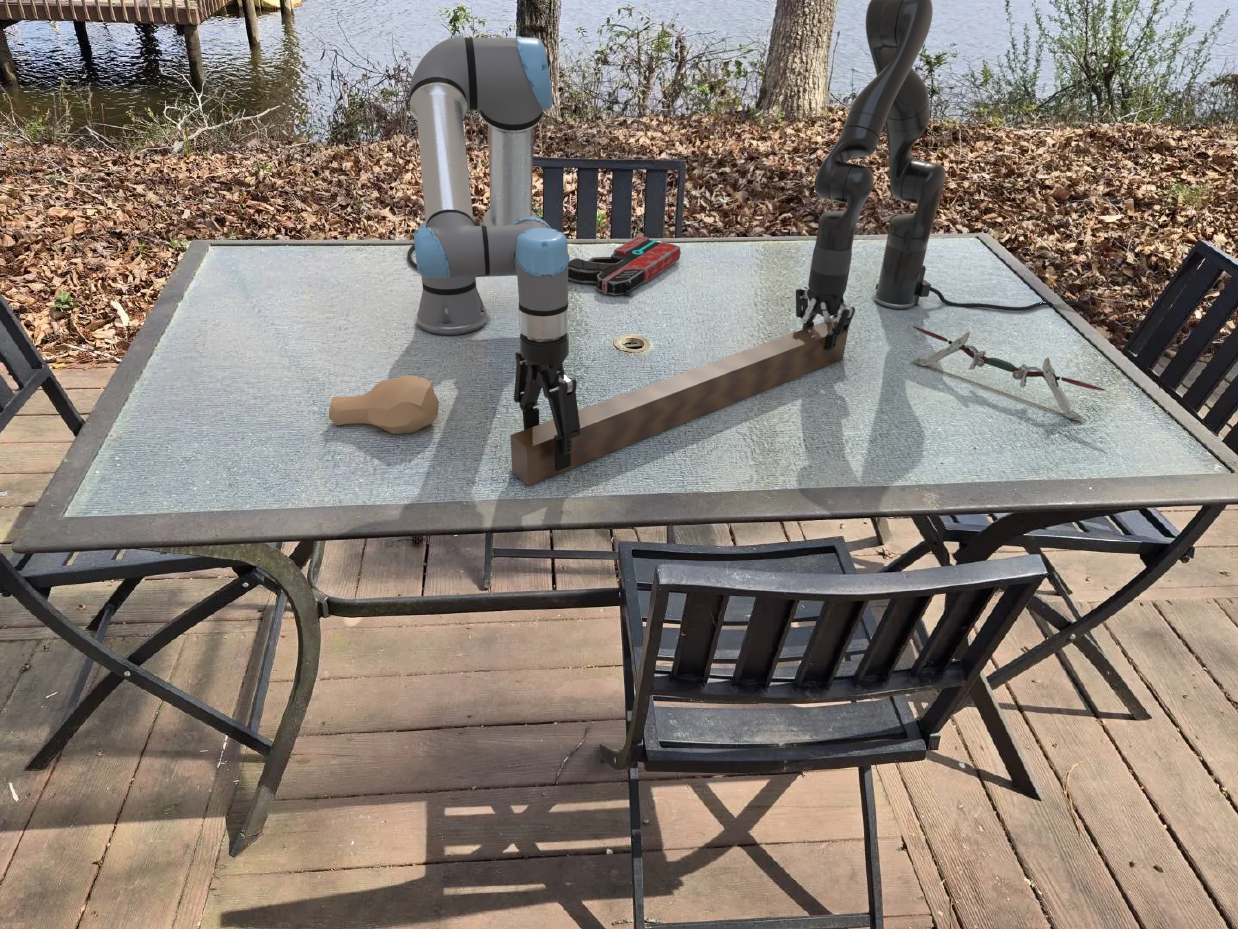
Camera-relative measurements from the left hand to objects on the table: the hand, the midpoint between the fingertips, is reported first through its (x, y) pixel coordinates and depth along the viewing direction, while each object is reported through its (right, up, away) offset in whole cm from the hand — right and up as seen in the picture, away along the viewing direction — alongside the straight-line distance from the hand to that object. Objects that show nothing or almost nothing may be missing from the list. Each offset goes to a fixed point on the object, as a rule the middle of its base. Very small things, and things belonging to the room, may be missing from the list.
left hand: (547, 455), depth 147 cm
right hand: (+53, +24, +35) cm, 68 cm away
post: (+27, +9, +20) cm, 34 cm away
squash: (-30, +6, +12) cm, 33 cm away
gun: (+13, +48, +77) cm, 92 cm away
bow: (+87, +13, +29) cm, 93 cm away
